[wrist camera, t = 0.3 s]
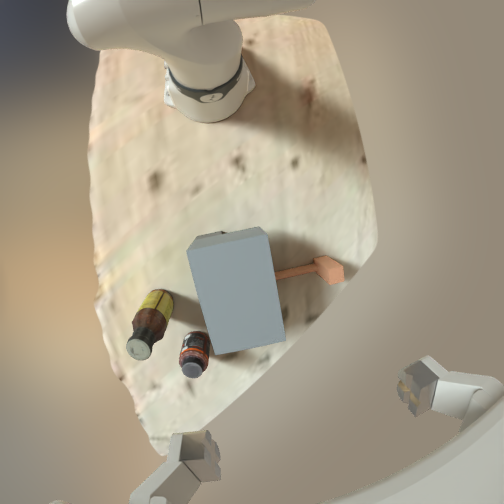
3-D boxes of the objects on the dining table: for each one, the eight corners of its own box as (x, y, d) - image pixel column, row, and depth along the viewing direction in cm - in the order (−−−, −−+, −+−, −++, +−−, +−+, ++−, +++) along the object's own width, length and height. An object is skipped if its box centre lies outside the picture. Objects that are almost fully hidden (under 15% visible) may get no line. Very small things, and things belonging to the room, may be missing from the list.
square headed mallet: (269, 268, 56) (277, 281, 47) (326, 255, 57) (343, 265, 48) (272, 281, 57) (280, 296, 48) (327, 268, 57) (344, 281, 49)
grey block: (197, 236, 54) (186, 251, 39) (256, 223, 54) (267, 234, 39) (217, 317, 57) (215, 355, 43) (271, 306, 58) (286, 340, 43)
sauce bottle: (143, 306, 55) (111, 353, 36) (153, 282, 55) (121, 323, 35) (169, 319, 57) (148, 372, 37) (180, 296, 56) (160, 344, 36)
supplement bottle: (180, 332, 57) (172, 360, 46) (206, 327, 58) (202, 355, 47) (188, 354, 59) (182, 384, 48) (213, 350, 59) (211, 379, 48)
